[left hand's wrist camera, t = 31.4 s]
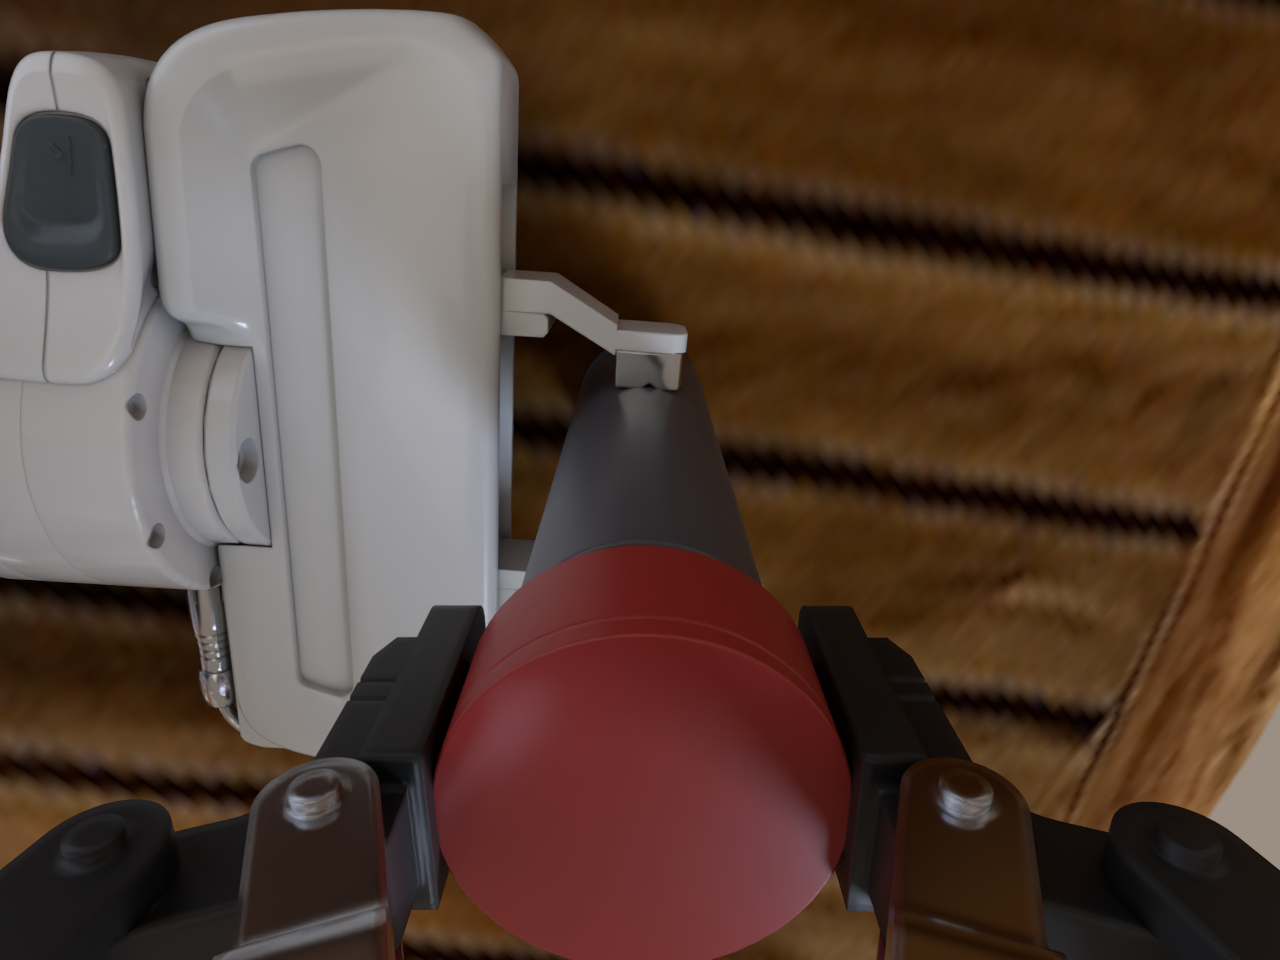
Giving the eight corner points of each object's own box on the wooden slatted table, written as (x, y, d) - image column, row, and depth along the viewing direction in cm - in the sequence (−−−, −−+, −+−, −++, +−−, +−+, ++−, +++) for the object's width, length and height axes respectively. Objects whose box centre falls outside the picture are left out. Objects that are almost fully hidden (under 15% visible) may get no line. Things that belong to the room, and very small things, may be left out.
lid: (550, 868, 13) (531, 1010, 10) (410, 611, 11) (354, 715, 9) (853, 779, 12) (900, 909, 10) (752, 492, 10) (782, 573, 8)
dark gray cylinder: (559, 370, 27) (418, 689, 10) (670, 317, 27) (727, 558, 9) (613, 474, 29) (571, 916, 11) (720, 426, 28) (852, 815, 11)
